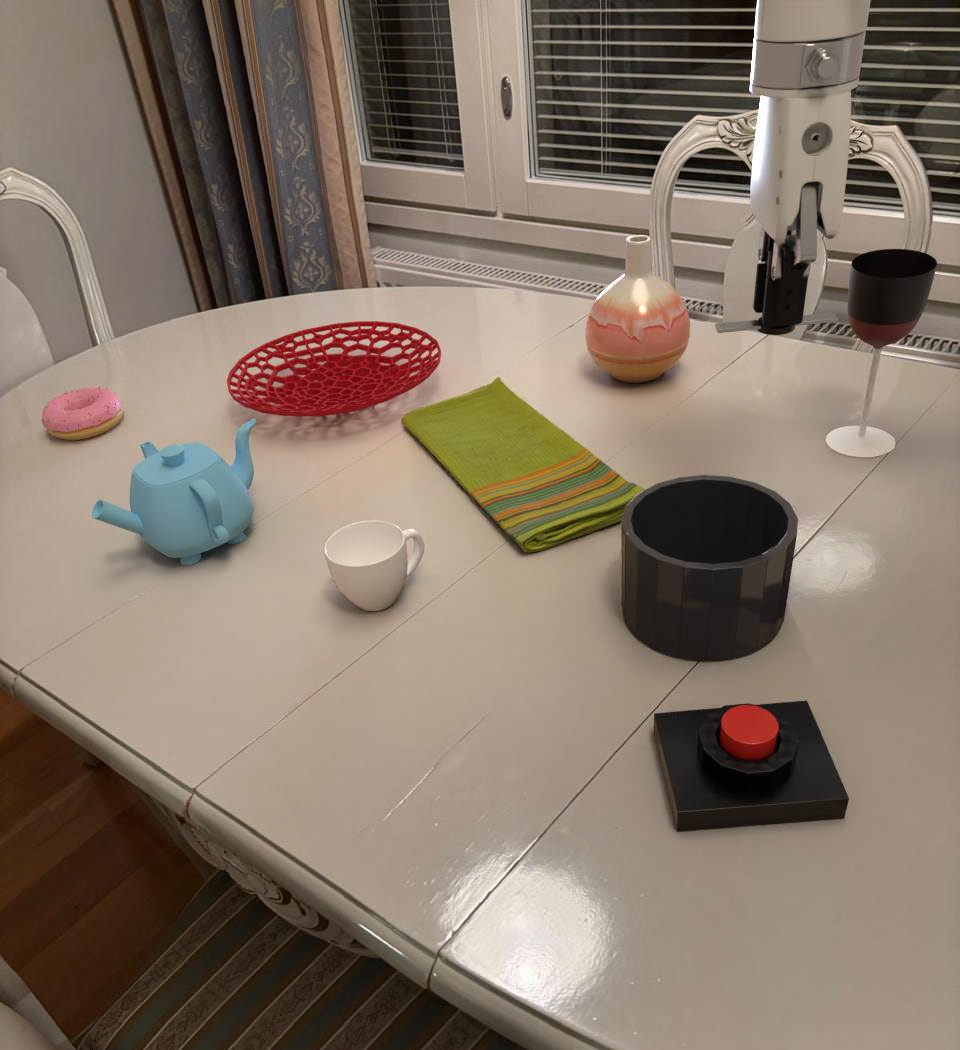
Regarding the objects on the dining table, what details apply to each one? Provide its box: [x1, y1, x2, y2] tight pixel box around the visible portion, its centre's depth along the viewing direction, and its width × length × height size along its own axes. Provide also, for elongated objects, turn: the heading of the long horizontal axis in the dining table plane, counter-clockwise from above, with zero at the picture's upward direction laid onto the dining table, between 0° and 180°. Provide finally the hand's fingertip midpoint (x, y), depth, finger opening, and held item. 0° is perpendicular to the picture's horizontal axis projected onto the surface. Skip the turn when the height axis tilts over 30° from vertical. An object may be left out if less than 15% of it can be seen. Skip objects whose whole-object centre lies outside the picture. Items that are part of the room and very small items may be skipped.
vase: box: [584, 234, 691, 384], centre depth 119 cm, size 14×14×18 cm
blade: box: [714, 247, 839, 336], centre depth 76 cm, size 10×3×6 cm, turn 90°
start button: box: [720, 705, 779, 760], centre depth 67 cm, size 4×4×2 cm
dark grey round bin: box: [620, 474, 799, 663], centre depth 82 cm, size 15×15×10 cm
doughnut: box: [40, 386, 124, 441], centre depth 127 cm, size 11×11×4 cm
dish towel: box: [400, 376, 646, 553], centre depth 107 cm, size 15×36×3 cm, turn 25°
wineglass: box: [825, 248, 938, 458], centre depth 99 cm, size 8×9×20 cm
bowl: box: [226, 320, 442, 418], centre depth 126 cm, size 29×30×5 cm
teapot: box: [91, 418, 257, 566], centre depth 99 cm, size 15×14×11 cm
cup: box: [323, 519, 425, 612], centre depth 89 cm, size 8×10×7 cm
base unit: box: [652, 700, 850, 832], centre depth 68 cm, size 12×10×4 cm
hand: (777, 315), depth 77 cm, fingers closed on blade, 2 cm apart
